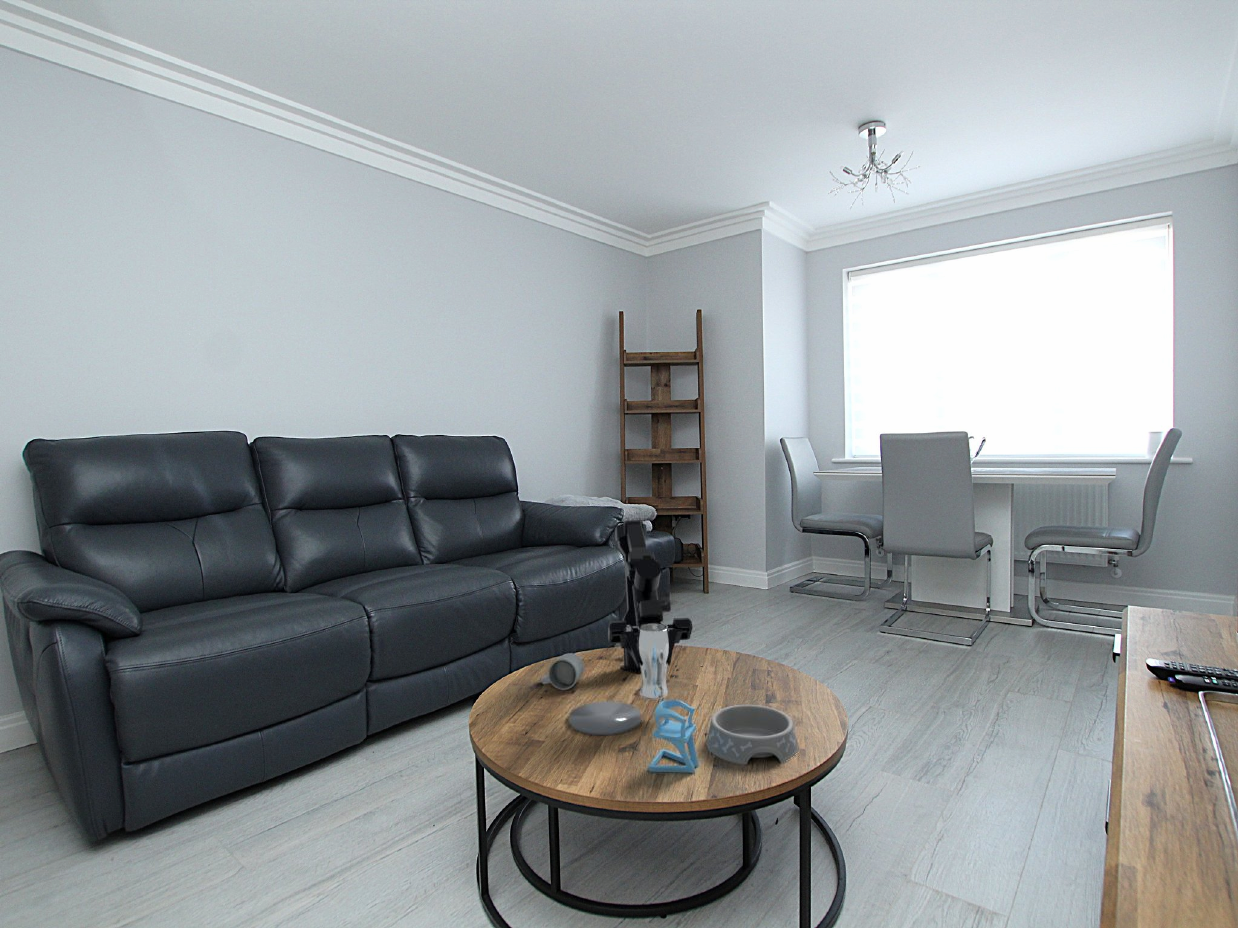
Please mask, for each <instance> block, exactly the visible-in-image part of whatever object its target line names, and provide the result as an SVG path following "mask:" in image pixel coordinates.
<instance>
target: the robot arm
mask: <svg viewBox="0 0 1238 928" xmlns="http://www.w3.org/2000/svg"><path fill="white" fill-rule="evenodd" d="M647 531H648V530H647V524H645V523H644V521H643V520H641V519H636V520H634V519H633V520H625V521H623V523H620V524H618V525H616V526H615V529H614V536H615V537H614V539H615V542H617V549H618V550H619V551H620V553H621V554H622V556H623V558H624V572H625V574H624V575H625V577H624V578H625V590H626V591H625V592H626V608H627V610H626V612H625V615H624V617H623V618H622V620H612V621H609V623H608V628H607V629H608V632H607V638H608V644H613V645H614V644H615V645H616V644H619V645H620V648H621V650H622V649H623V665H621V666H619V667H620V669H621V670H624V671H628V672H632V673H635V674H640V673H641V668H640V660H639V655H638V647H637V643H638V627H639V626H640V625H642V624H647V623H659V624H663V623H662V622H664V613H670V612H671V611H672V609H671V608H672V607H671V605H672V604H671V599H670V597H669V596H661V598H660V599H659V596H658V588H659V586H660V581H661V579H660V578H661V574H663V572H664V571H663V567H662V566H661V565H660V563H659V561H658V560H656V558H655V554H654V552H653V551H651V550H649V549H648V547H647V544H646V540H647V539H648V533H647ZM665 625H666V626H668V636H669V657H668V664H667V667H668V666H671V662H672V656H673V651H674V648H675V645H676V644H679V643H680V641H687V640H689V639H690V638H691V635H692V632H693V621H692V620H691V619H690V618H689V617H675V618H674V617H673V619H672V623H671V624H665Z"/></svg>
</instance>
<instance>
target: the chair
mask: <svg viewBox="0 0 1238 928" xmlns="http://www.w3.org/2000/svg"><path fill="white" fill-rule="evenodd" d="M674 707H675V708H676V707H680V708H682V709H684V710H686V711H687V712H688V713H689V715H688V718H686V717H683V716H682V715H680V714H679V713H677V712H676V711H674V710H673V709H672V708H674ZM695 710H696V708H695V707H692V706H690V705H689V704H687V703H685V702H684V701H681V700H679V699H678V700H677V699H668V700H666V699H665V700H662V701H660V702H659V703H658V704H657V705H656V708H655V710H654V718H655V721H656V726H657V727H656V729H654V731H653V732H652V738H654V739H658V740H659V739H661V740H664V741H666V742H668V743H671V744H672V745H673V746H674V747H675V748H676V749H677V751H678V753H679V754H678V753H677V752H673V751H671V750H667V749H663V748H662V749H661V750H659V752H658V754H656V756H655V757H654V758H653V760H652V761H651V762H650V763H649V764H648V766H647V767H648V771H649V772H652V773H683V774H684V773H686V774H688V773H689V774H695V773H696V770H695V768H699V767H700V765H699V760H698V759H699V758H698V755H697V751H696V745H695V741H694V733H695V731H696V730H697V724H694V723H693V717H694V712H695ZM661 719H663V720H662V721H661ZM670 719H673V720H670ZM674 720H676V721H674ZM685 745H687V748H688V749H687V750H688V751H687V750H686V746H685ZM662 757H668V758H670V759H672V760H675V761H677V762H679V763H683V764H685V765H683V764H682V765H680V764H679V765H677V764H676V765H675V764H674V765H671V764H670V765H667V764H666V765H658V763H659V761H660V760H661V759H662Z"/></svg>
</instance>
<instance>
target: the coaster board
mask: <svg viewBox="0 0 1238 928" xmlns="http://www.w3.org/2000/svg"><path fill="white" fill-rule="evenodd" d="M568 723H569V726H570V727H571V728H572V729H573V730H575V731H577V732H580V733H583V734H587V735H591V736H592V735H594V736H612V735H620V734H623V733H628V732H630V731H632V730H634V729H636V728H637V727H638V726H640V725H641V723H642V712H641V710H640V709H639V708H638V707H636V706H635V705H632V704H629V703H625V702H620V701H609V700H608V701H606V700H605V701H595V702H590V703H585V704H582V705H580V706H578V707H576V708H574V709H573V710H572V711H570V713H569V715H568Z"/></svg>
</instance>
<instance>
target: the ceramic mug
mask: <svg viewBox="0 0 1238 928" xmlns="http://www.w3.org/2000/svg"><path fill="white" fill-rule="evenodd" d="M584 670H585V664H584V662H583V660H582V658H581V657H580V656H579V655H578V654H576V653H571V652H570V653H564V654H562V655H561V656H560V657H558V658H557V659H555V660H554V661H552V663H551V664H550V666H549V667H548V671H547V673H546V675H544V676H542V677H541V678H540V681H541V684H542V685H547V684H551V686H553V687H554V688H555V689H558V690H561V691H567V690H570V689H571V688H573V687H574V686H575V685H576V684H577V682H578V681H579V680H580V679H581V677H582V676H583V674H584V672H585V671H584Z"/></svg>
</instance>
